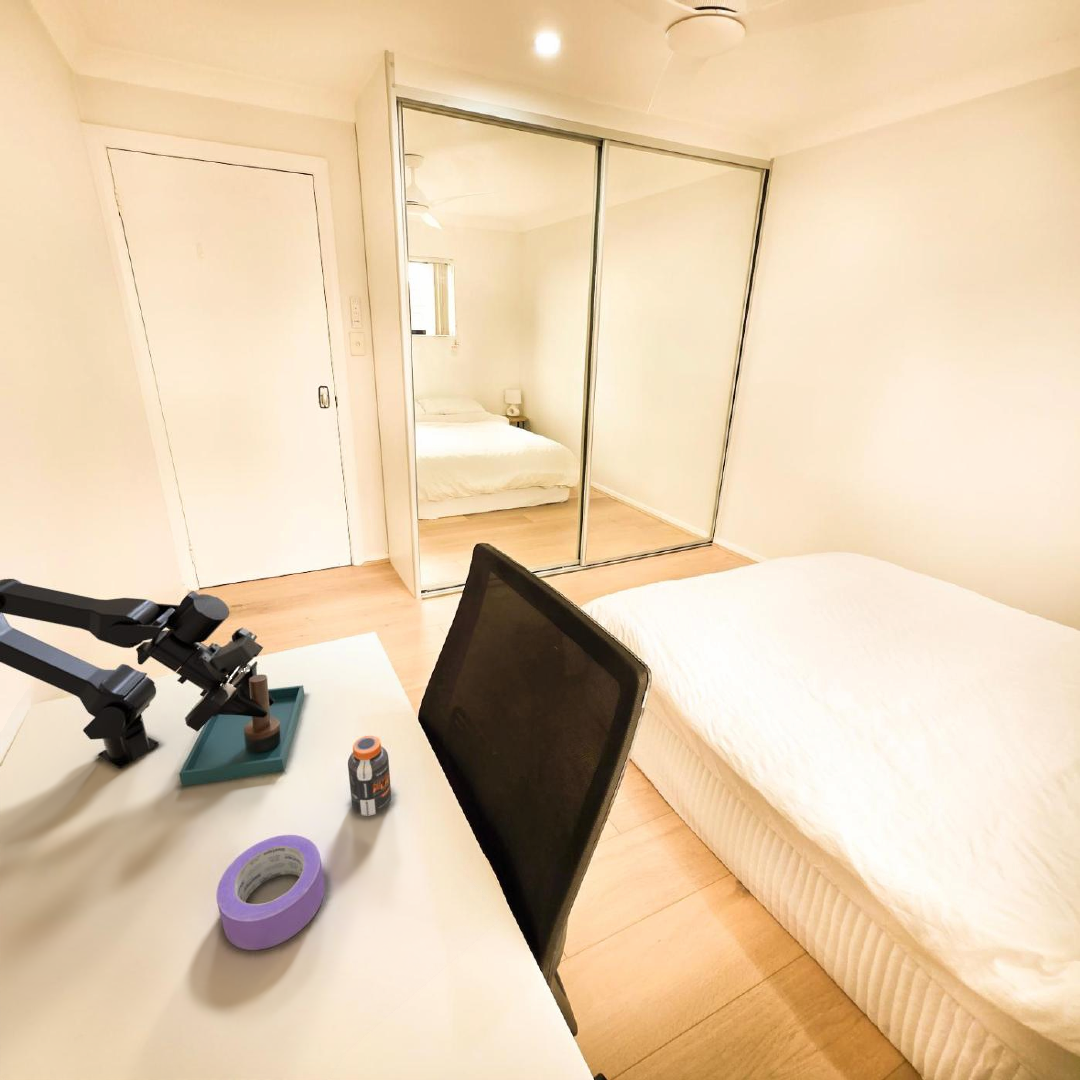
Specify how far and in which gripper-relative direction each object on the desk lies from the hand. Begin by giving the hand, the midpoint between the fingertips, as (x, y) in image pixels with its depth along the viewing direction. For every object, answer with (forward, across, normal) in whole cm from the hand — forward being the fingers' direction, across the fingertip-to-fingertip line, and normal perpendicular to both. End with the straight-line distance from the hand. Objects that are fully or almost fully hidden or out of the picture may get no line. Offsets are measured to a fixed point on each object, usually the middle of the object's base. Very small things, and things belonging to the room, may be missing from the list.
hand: (269, 709), depth 93 cm
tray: (+2, +2, +9) cm, 9 cm away
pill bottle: (+19, -15, -8) cm, 26 cm away
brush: (+3, -1, +6) cm, 7 cm away
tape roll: (+12, -30, -2) cm, 33 cm away
